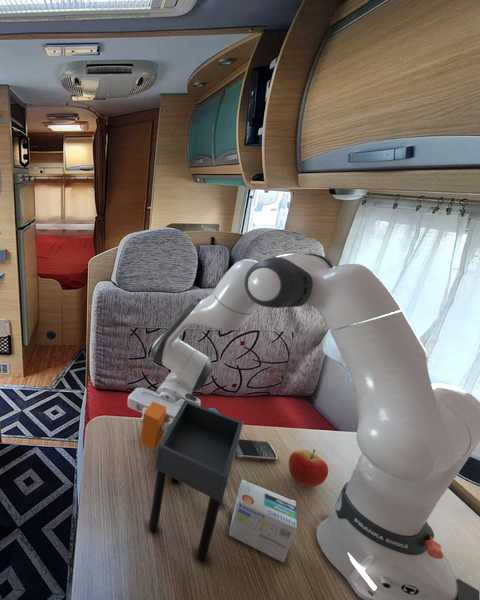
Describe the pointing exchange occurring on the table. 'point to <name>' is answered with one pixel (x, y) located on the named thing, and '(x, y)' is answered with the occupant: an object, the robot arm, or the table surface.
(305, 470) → the apple
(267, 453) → the cell phone
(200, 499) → the table surface
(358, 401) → the robot arm
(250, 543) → the light bulb box
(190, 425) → the dark gray open bin
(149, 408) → the block
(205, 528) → the stand
